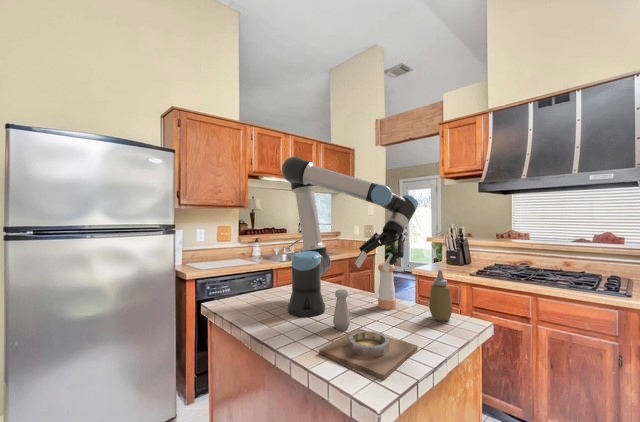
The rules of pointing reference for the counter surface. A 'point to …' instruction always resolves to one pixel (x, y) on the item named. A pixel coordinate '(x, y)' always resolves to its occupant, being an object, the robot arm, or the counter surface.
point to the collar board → (370, 362)
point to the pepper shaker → (386, 289)
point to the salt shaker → (341, 311)
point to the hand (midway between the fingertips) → (370, 268)
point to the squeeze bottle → (440, 299)
